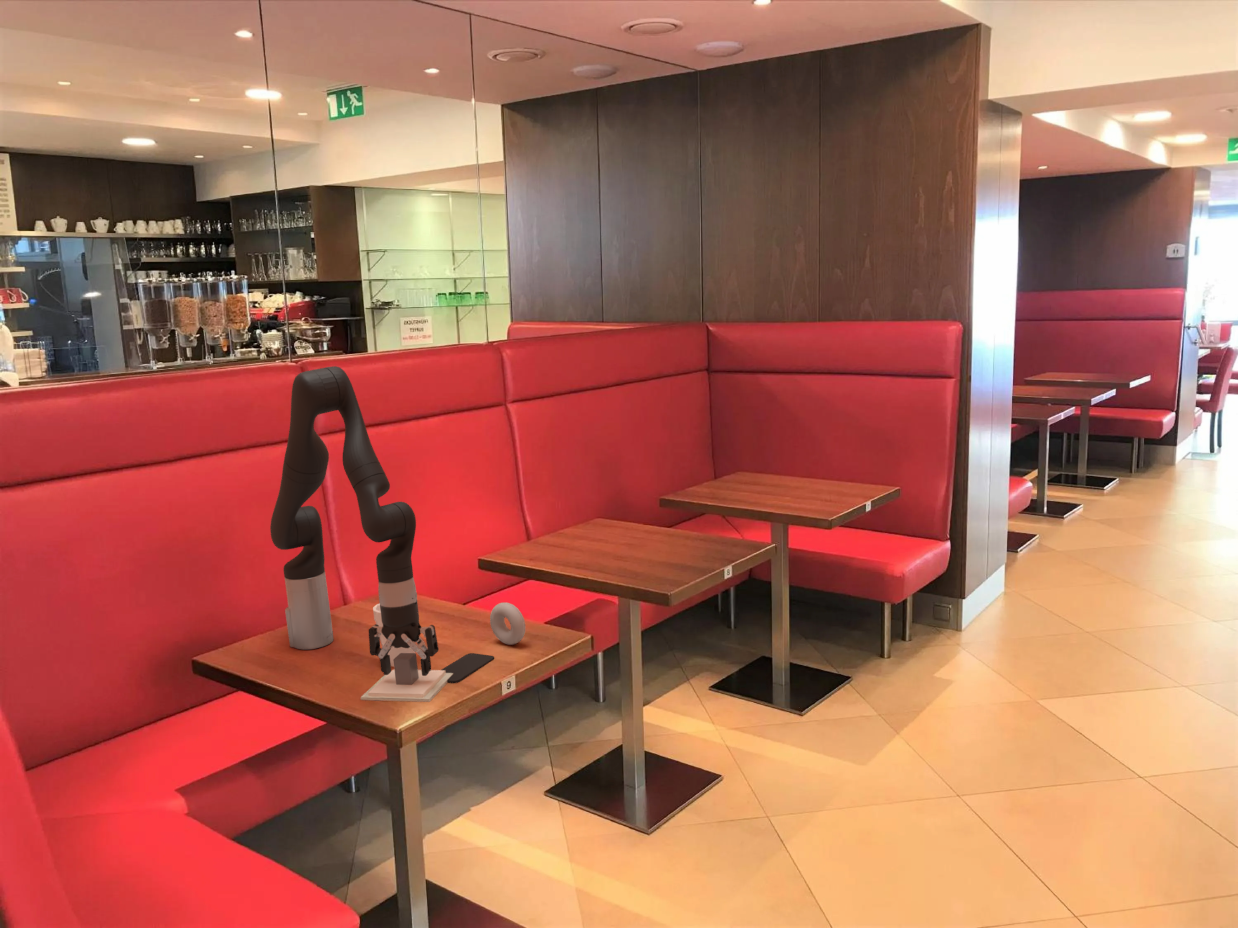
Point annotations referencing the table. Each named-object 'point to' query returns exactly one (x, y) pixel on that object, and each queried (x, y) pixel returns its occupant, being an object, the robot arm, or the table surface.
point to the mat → (427, 698)
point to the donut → (500, 626)
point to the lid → (406, 679)
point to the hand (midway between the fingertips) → (406, 673)
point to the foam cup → (394, 651)
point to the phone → (466, 666)
